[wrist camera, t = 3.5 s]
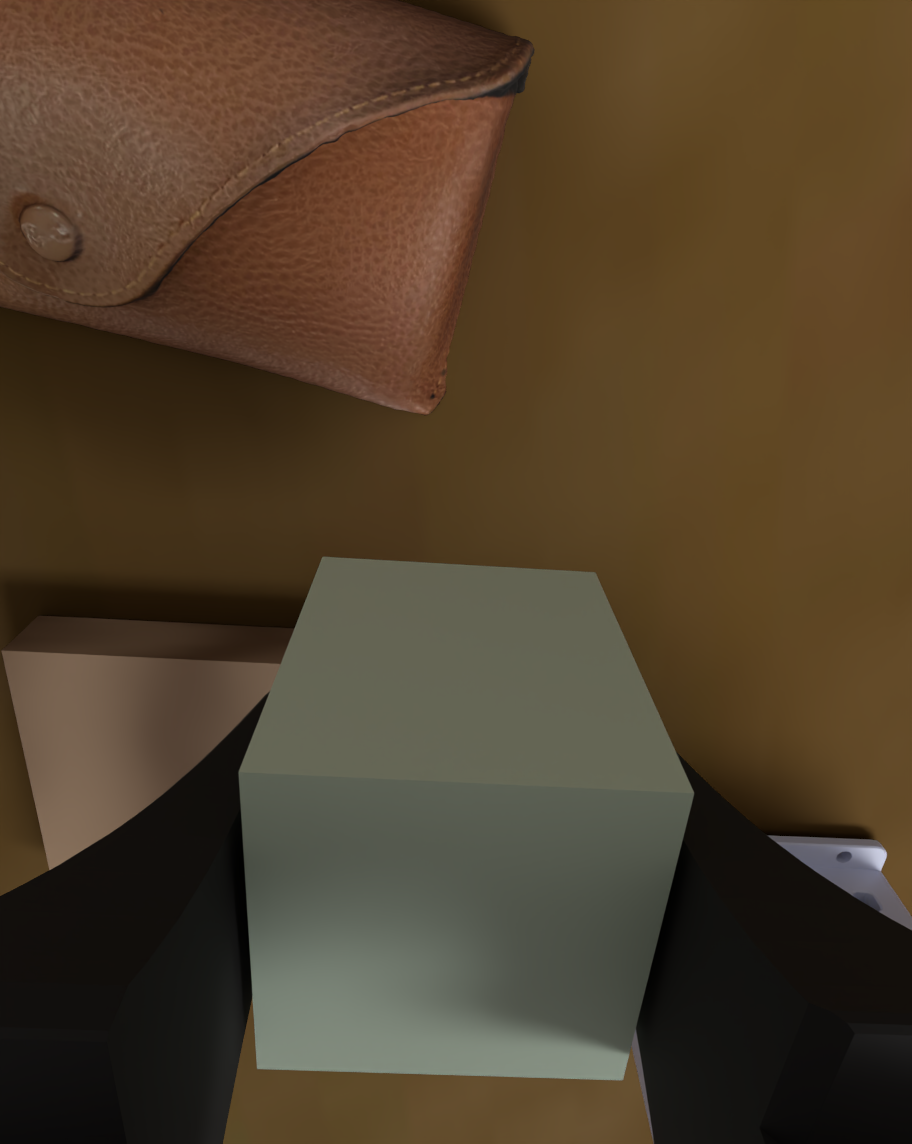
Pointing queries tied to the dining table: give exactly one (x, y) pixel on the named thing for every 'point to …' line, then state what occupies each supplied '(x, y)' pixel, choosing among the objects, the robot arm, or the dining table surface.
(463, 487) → the dining table surface
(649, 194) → the dining table surface
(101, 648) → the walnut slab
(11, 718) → the dining table surface
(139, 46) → the sunglasses case
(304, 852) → the green block
